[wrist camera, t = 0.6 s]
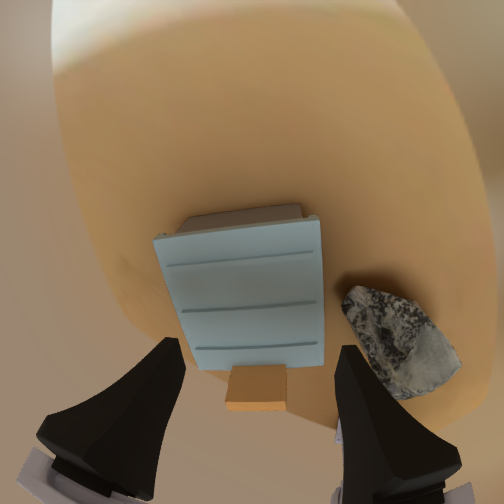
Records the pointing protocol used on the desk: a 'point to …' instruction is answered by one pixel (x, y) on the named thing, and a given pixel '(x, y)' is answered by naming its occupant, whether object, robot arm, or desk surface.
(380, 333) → the stone
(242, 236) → the lid
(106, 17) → the desk surface
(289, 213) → the tub
